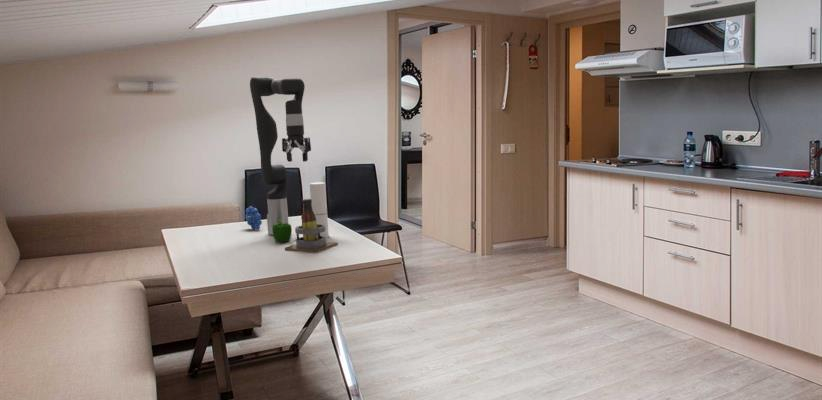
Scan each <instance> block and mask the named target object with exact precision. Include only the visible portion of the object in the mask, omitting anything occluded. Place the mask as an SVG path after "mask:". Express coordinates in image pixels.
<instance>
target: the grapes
mask: <svg viewBox="0 0 822 400" xmlns="http://www.w3.org/2000/svg"><path fill="white" fill-rule="evenodd" d="M245 213H246V214H245V215H244V216H245V217H244V218H245V219H246V223H247V225H248V226H250V228H251V229H252V230H260V228H261V225H262V220H261V218H262V215H261V214H260V213H259V209H257V208H256V207H254V206H252V205H250V206H248V207H247V208H246V209H245Z"/></svg>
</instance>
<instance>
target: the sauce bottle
mask: <svg viewBox="0 0 822 400" xmlns="http://www.w3.org/2000/svg"><path fill="white" fill-rule="evenodd" d="M311 203H312V200H311V198H303V199H301V204H302V213H301V217H300V218H301V225H302V229H314V228H317V223H316V217H315V214H314V212H313V210H312V204H311ZM302 237H303V240H304V241H313V240H315V234H302ZM317 240H318V233H317Z"/></svg>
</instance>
